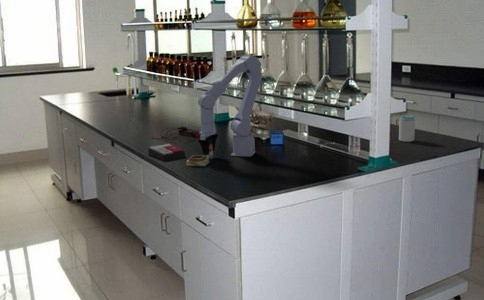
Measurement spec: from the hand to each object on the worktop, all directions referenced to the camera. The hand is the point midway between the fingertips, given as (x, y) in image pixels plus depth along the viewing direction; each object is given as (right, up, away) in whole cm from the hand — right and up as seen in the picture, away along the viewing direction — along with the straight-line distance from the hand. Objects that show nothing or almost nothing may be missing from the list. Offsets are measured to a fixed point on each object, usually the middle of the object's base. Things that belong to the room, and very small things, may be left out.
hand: (209, 152), depth 246 cm
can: (+92, +5, +19) cm, 94 cm away
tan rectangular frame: (-4, -5, -8) cm, 10 cm away
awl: (0, -3, +1) cm, 3 cm away
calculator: (-20, -2, +9) cm, 22 cm away
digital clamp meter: (-17, +7, +44) cm, 48 cm away
